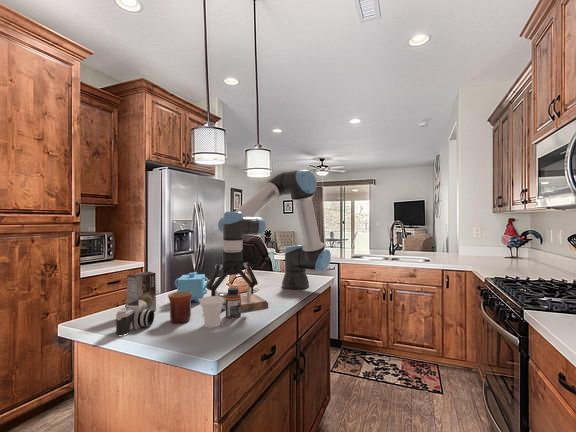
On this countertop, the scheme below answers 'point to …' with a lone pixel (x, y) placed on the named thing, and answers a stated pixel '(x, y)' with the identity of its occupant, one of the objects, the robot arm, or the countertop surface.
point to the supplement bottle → (233, 303)
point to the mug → (180, 306)
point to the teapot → (192, 285)
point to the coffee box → (142, 288)
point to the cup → (211, 310)
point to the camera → (133, 317)
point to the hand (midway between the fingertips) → (232, 305)
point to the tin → (224, 300)
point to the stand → (253, 303)
